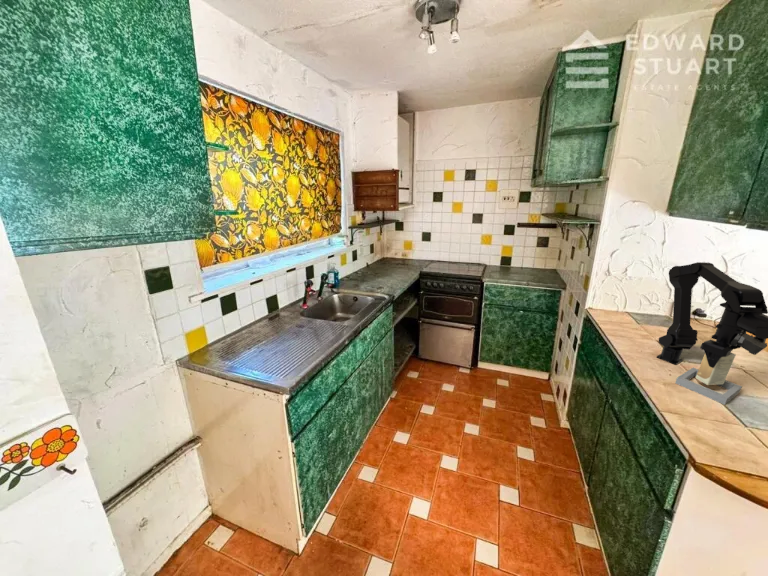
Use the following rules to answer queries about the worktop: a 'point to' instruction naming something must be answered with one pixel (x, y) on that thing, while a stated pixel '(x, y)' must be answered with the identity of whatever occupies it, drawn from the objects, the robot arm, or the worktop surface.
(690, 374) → the holder
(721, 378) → the skincare box
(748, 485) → the worktop surface
